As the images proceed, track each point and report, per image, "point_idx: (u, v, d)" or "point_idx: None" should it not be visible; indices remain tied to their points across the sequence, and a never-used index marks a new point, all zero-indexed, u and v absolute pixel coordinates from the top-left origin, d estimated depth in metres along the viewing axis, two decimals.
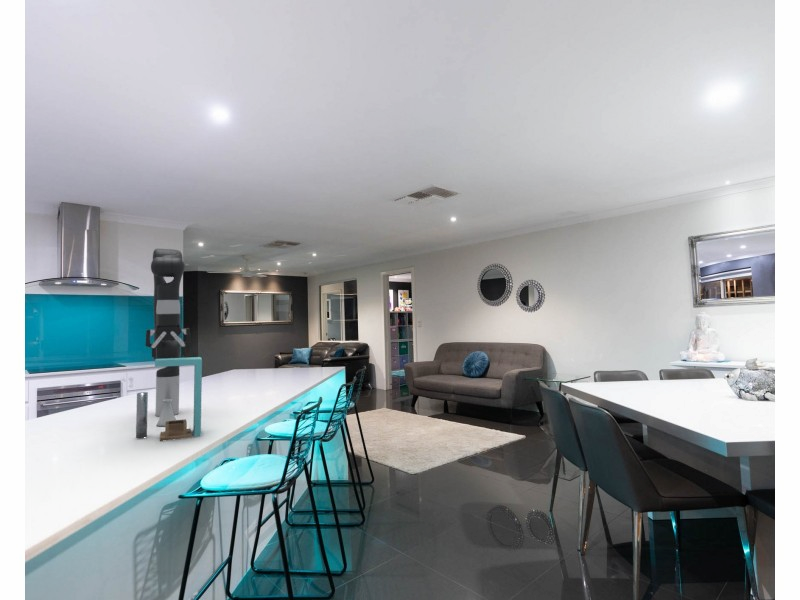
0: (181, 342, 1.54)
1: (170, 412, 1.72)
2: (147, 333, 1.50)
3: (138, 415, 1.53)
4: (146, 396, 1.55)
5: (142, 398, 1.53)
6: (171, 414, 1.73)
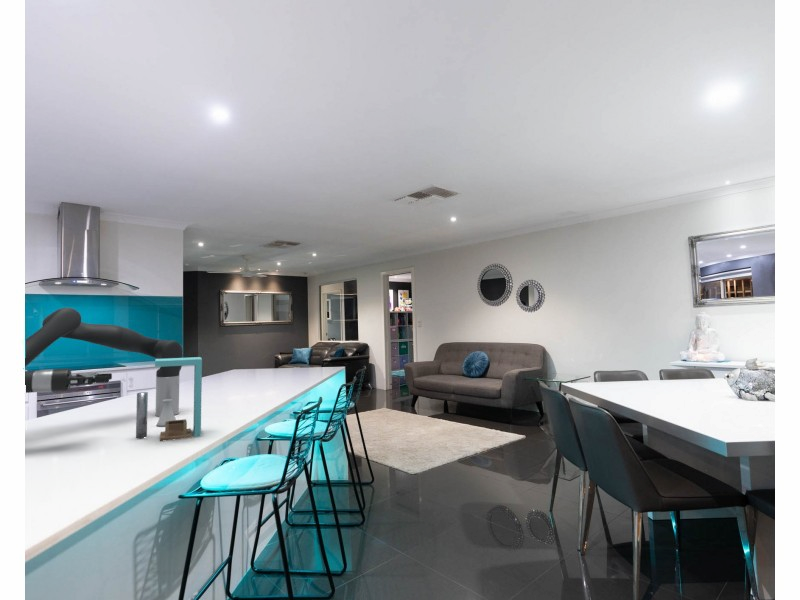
0: None
1: (170, 412, 1.72)
2: None
3: (138, 415, 1.53)
4: (146, 396, 1.55)
5: (142, 398, 1.53)
6: (171, 414, 1.72)
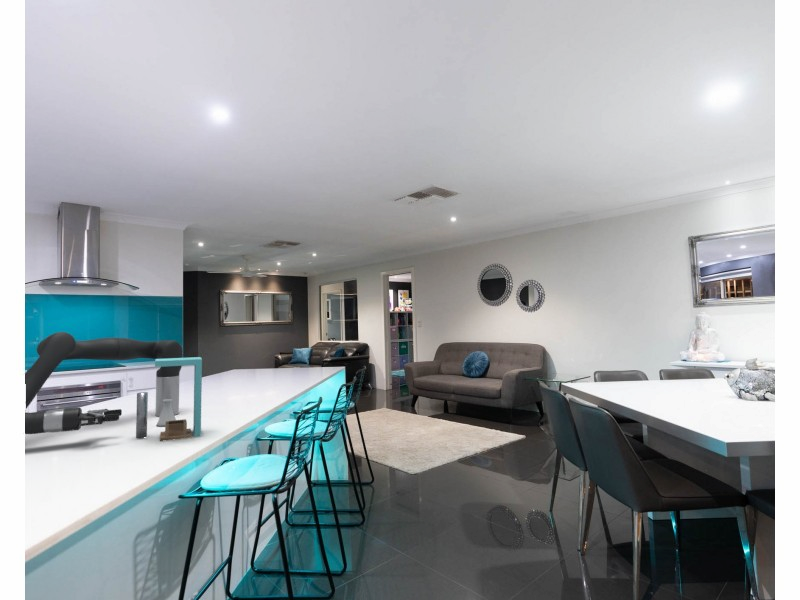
0: None
1: (170, 412, 1.72)
2: None
3: (138, 415, 1.53)
4: (146, 396, 1.55)
5: (142, 398, 1.53)
6: (171, 414, 1.73)
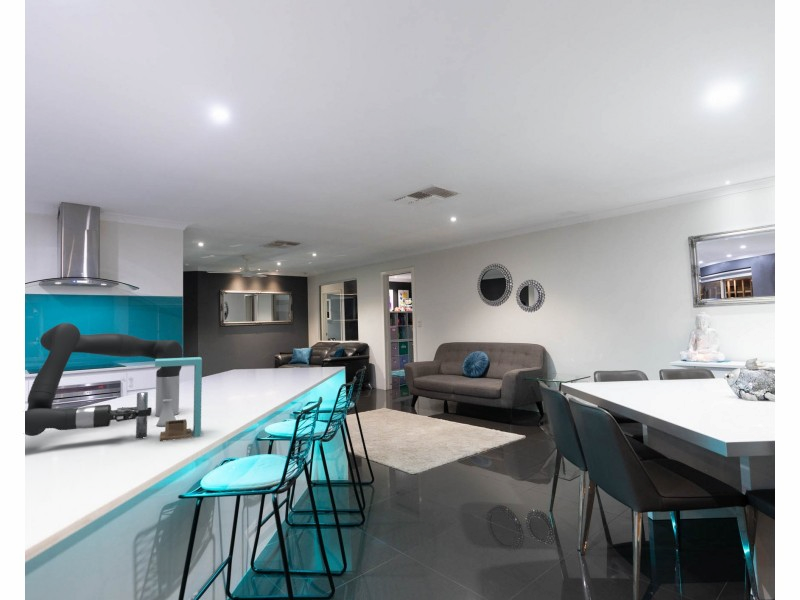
0: None
1: (170, 412, 1.72)
2: None
3: None
4: (146, 396, 1.55)
5: (142, 398, 1.53)
6: (171, 414, 1.73)
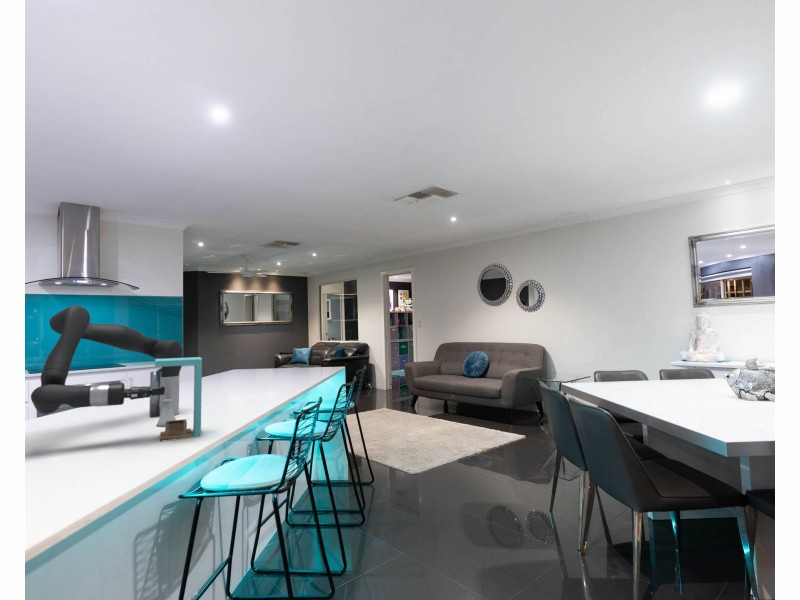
0: None
1: (170, 412, 1.72)
2: None
3: None
4: (159, 375, 1.53)
5: (156, 377, 1.52)
6: (171, 414, 1.73)
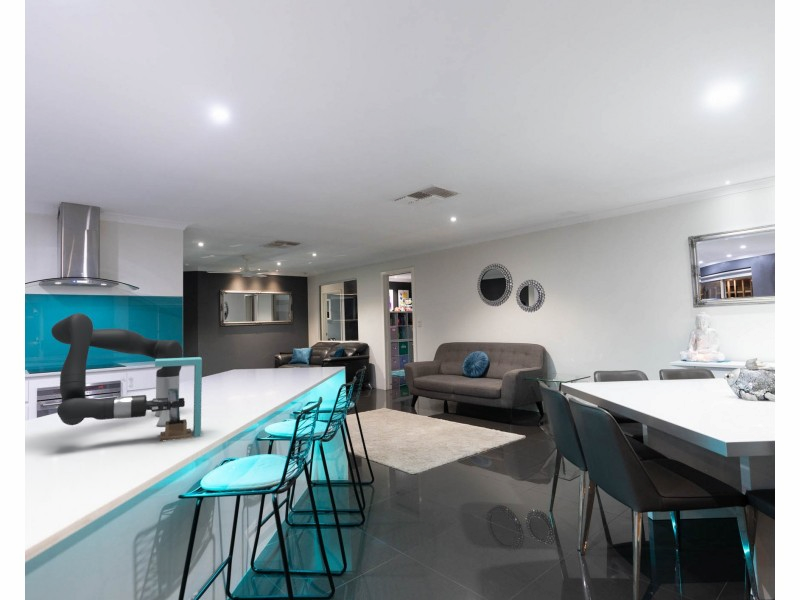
0: None
1: None
2: None
3: (171, 412, 1.54)
4: (177, 392, 1.55)
5: (174, 394, 1.54)
6: None
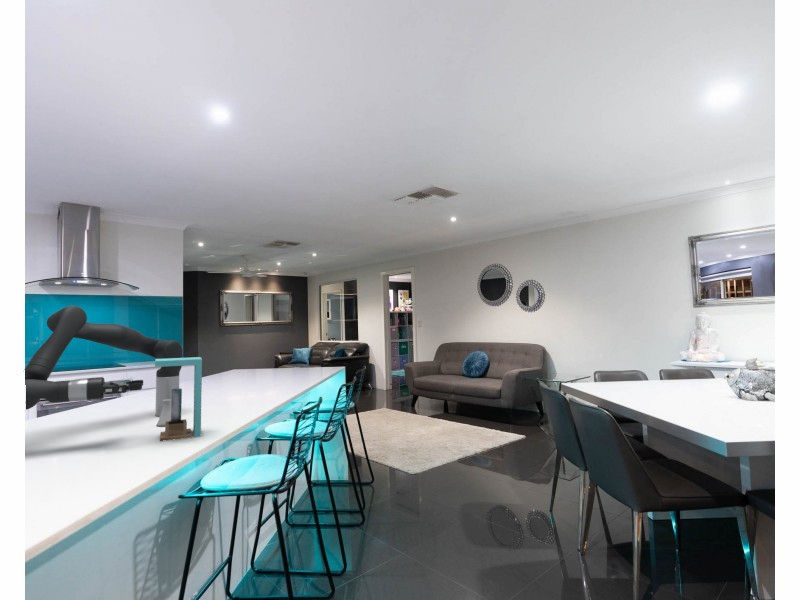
0: None
1: (170, 412, 1.72)
2: None
3: (173, 411, 1.54)
4: (180, 392, 1.56)
5: (177, 394, 1.55)
6: None
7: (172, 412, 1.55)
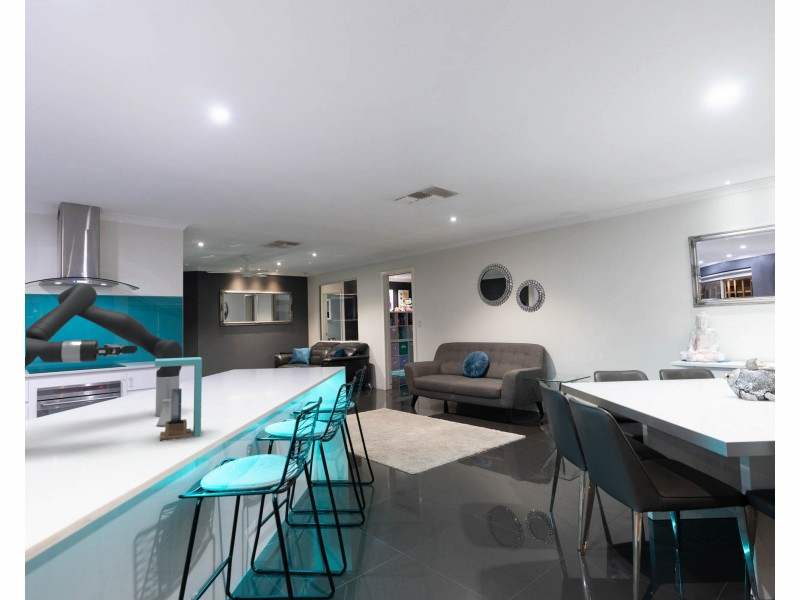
0: None
1: (170, 412, 1.72)
2: None
3: (172, 411, 1.54)
4: (180, 392, 1.56)
5: (177, 394, 1.55)
6: None
7: (172, 412, 1.55)
